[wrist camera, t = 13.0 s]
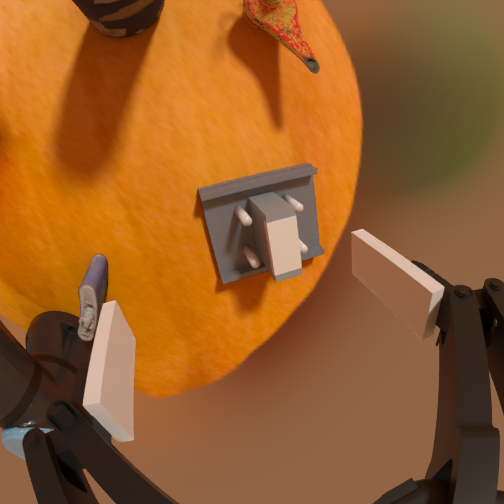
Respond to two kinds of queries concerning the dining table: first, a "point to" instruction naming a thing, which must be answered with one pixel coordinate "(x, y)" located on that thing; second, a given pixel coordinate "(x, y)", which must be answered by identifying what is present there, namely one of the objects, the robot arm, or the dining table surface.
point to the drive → (276, 235)
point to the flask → (92, 296)
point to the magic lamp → (281, 26)
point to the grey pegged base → (240, 221)
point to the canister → (121, 15)
